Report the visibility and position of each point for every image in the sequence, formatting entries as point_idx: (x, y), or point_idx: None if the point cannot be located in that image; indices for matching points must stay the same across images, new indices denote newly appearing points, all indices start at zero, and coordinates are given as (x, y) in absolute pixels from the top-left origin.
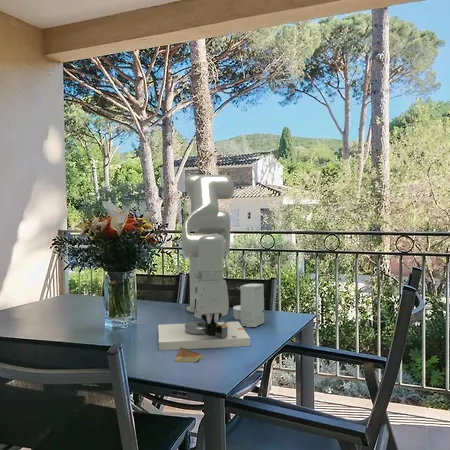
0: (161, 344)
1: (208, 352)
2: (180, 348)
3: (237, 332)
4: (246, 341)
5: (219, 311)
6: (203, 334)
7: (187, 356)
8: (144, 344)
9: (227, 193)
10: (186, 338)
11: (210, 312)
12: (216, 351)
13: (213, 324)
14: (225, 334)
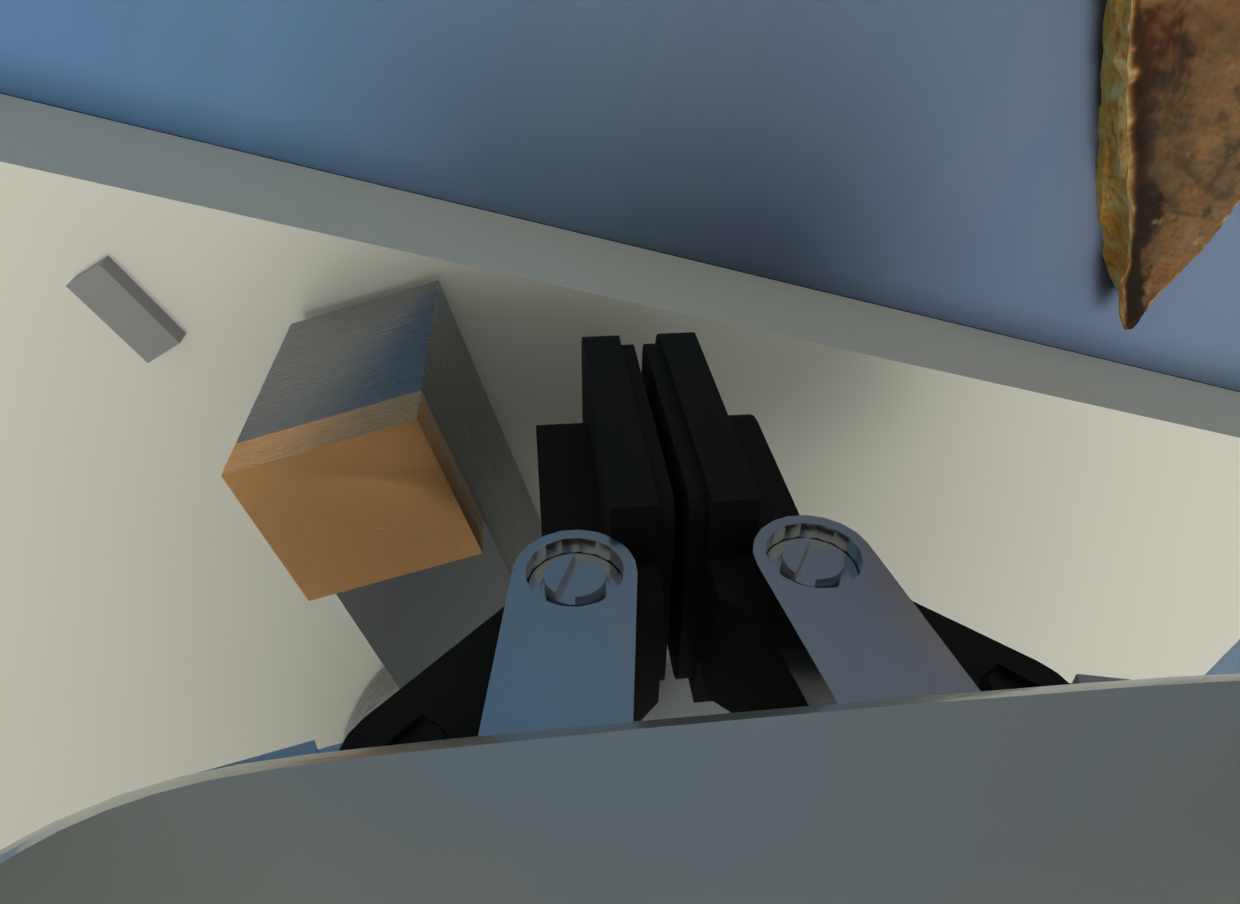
0: None
1: (799, 11)
2: (1163, 282)
3: (16, 570)
4: None
5: (525, 785)
6: None
7: None
8: (1235, 648)
9: None
10: (975, 519)
11: (1042, 731)
12: (637, 4)
13: (663, 492)
14: (334, 335)
